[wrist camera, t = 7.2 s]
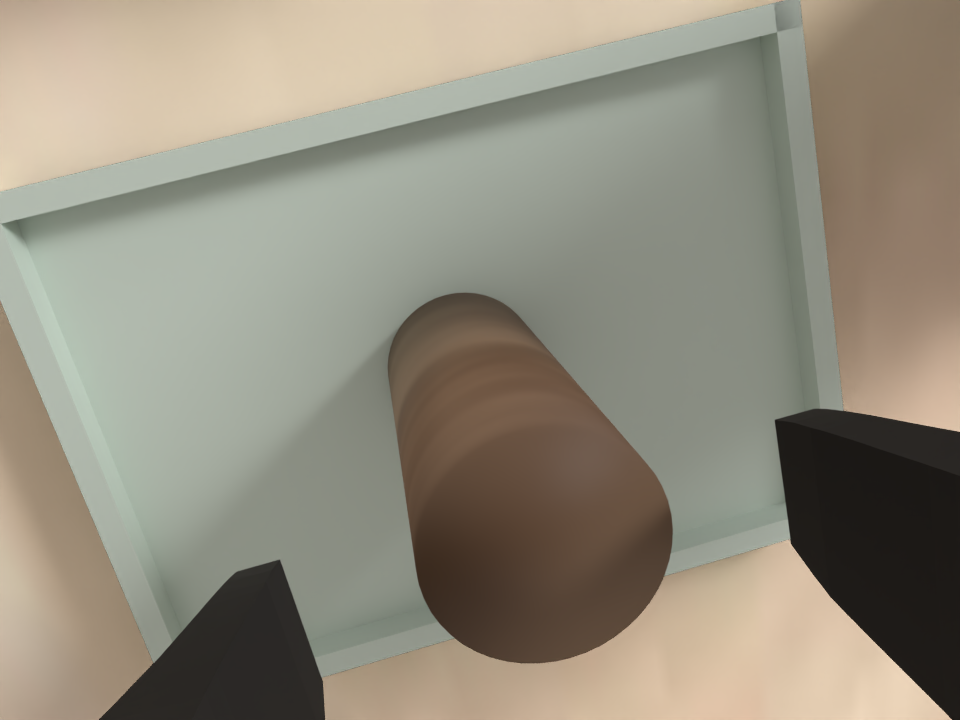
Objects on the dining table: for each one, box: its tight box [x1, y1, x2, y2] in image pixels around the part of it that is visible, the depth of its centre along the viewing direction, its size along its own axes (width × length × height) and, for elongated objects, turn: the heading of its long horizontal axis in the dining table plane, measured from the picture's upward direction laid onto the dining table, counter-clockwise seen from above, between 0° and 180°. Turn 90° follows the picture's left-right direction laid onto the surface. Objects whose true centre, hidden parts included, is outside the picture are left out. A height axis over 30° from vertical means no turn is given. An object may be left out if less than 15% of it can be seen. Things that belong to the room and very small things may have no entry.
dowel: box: [388, 293, 673, 663], centre depth 16 cm, size 4×4×9 cm
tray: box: [0, 0, 844, 678], centre depth 20 cm, size 18×13×2 cm
